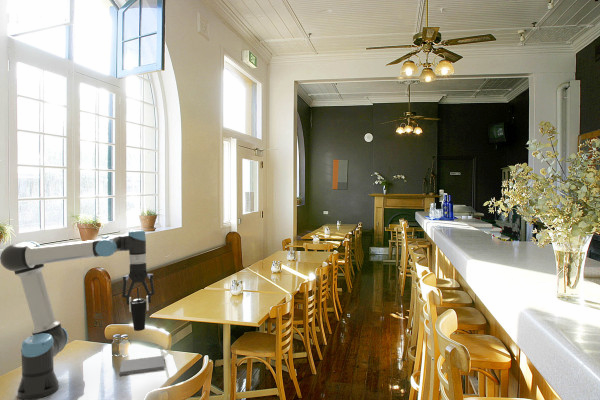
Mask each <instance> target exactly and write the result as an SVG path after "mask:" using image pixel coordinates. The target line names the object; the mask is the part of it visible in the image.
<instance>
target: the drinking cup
mask: <svg viewBox="0 0 600 400" xmlns="http://www.w3.org/2000/svg"><path fill="white" fill-rule="evenodd" d="M139 292H140V291H139V287H137V288H136V297H137V298H134V299H131V302H130V304H131V312H130V313H131V318H132V324H133V331H134V332H140V331H143V330H145V329H146V314H147V313H146V311H147V302H146V298H142V297H139V296H140V293H139Z"/></svg>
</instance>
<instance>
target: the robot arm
mask: <svg viewBox="0 0 600 400" xmlns="http://www.w3.org/2000/svg"><path fill="white" fill-rule="evenodd" d="M116 252H128V255H129V256H128V260H129V261H128V262H129V273H128V275H123V277H122V280H123V285H122V294H121V296H122V298H125V299H126V306H128V307H129V308H128V309H129V310H128V311H129V312H128V313H132V312H131V304H130V302H131V301H132V297H131V294H132V290H133V288H134V285H135V284H136V283H141V284H142V285H143V288H144V289H145V292H146V294H147V295H146V298H145V299H146V311H148V312H149V310H150V309H149V308H150V307H149V306H150V305H149V304H151V302H152V296H154V295H155V293H156V291H155V287H154V286H155V284H154V273H148V271H147V239H146V231H145V230H143V229H136V230H135V229H134V230H129V231H128V234H119V235H117V234H115V235H111V234H110V235H103V236H102V237H101V238H100V239H94V240H93V239H91V240H85V241H84V240H83V241H76V242H67V243H59V244H52V245H51V244H50V245H44V246H43V245H41V244H40V243H38V242H36V241H31V240H26V241H22V242H18V243H15V244H10V245H9V246H6V247H5V248H4V249H3V250H2V251H1V252H0V264H1V266H2V267H3V268H5V269H6V270H8V271H13V272H14V274H15V276H17V277H19V278H20V281H21V285H22V288H23V291H24V295H25V298H26V302H27V305H28V309H29V312H30V313H29V314H30V316H31V319H32V323H33V326H34V327H33V329H32V331H31V334H32V335H30V336H28V337H27V338H25V339H24V340H23V341H22V343H21V349H20V352H21V372H22V373H21V379H20V382H19V385H18V388H17V398H18V399H19V400H20V399H21V400H36V399H37V400H38V399H40V398H44V397H47V396H50V395H52V394H54V393H55V392H56V391H58V390H59V387H60V386H59V379H58V378H57V376H56V373H55V369H54V367H55V366H54V358H55V357H56V356H57V355H58V354H59V353H60V352H62V350H63V349H64V348H65V346H66V345H67V343H68V341H69V334H68V332H67V330H66V329H65V328H64V327H62V324H61V322H60V321H59V320H56V316H55V313H54V311H53V306H52V304H51V299H50V296H49V293H48V292H49V291H48V289H47V286H46V282H45V278H44V275H43V272H42V271H43V269H44V268H45V264H53V263H59V262H67V261H74V260H82V259H90V258H97V257H103V258H105V257H110V256H112V255H114V254H115V253H116ZM146 278H148V279H149V285H150V289H149V287H148V286H149V285H148V284H147V282H146ZM129 279H130V281H131V284H130V286H129V290H128V292H127V286H128V285H127V284H128V280H129Z"/></svg>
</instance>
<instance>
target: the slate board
mask: <svg viewBox="0 0 600 400" xmlns="http://www.w3.org/2000/svg"><path fill="white" fill-rule="evenodd" d="M161 370H162V371H163V370H165V357H164V355H159V356H151V357H143V358H133V359H126V360H124V359H123V360H121V362H120V368H119V376H124V375H132V374H138V373H147V372H153V371H161Z"/></svg>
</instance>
